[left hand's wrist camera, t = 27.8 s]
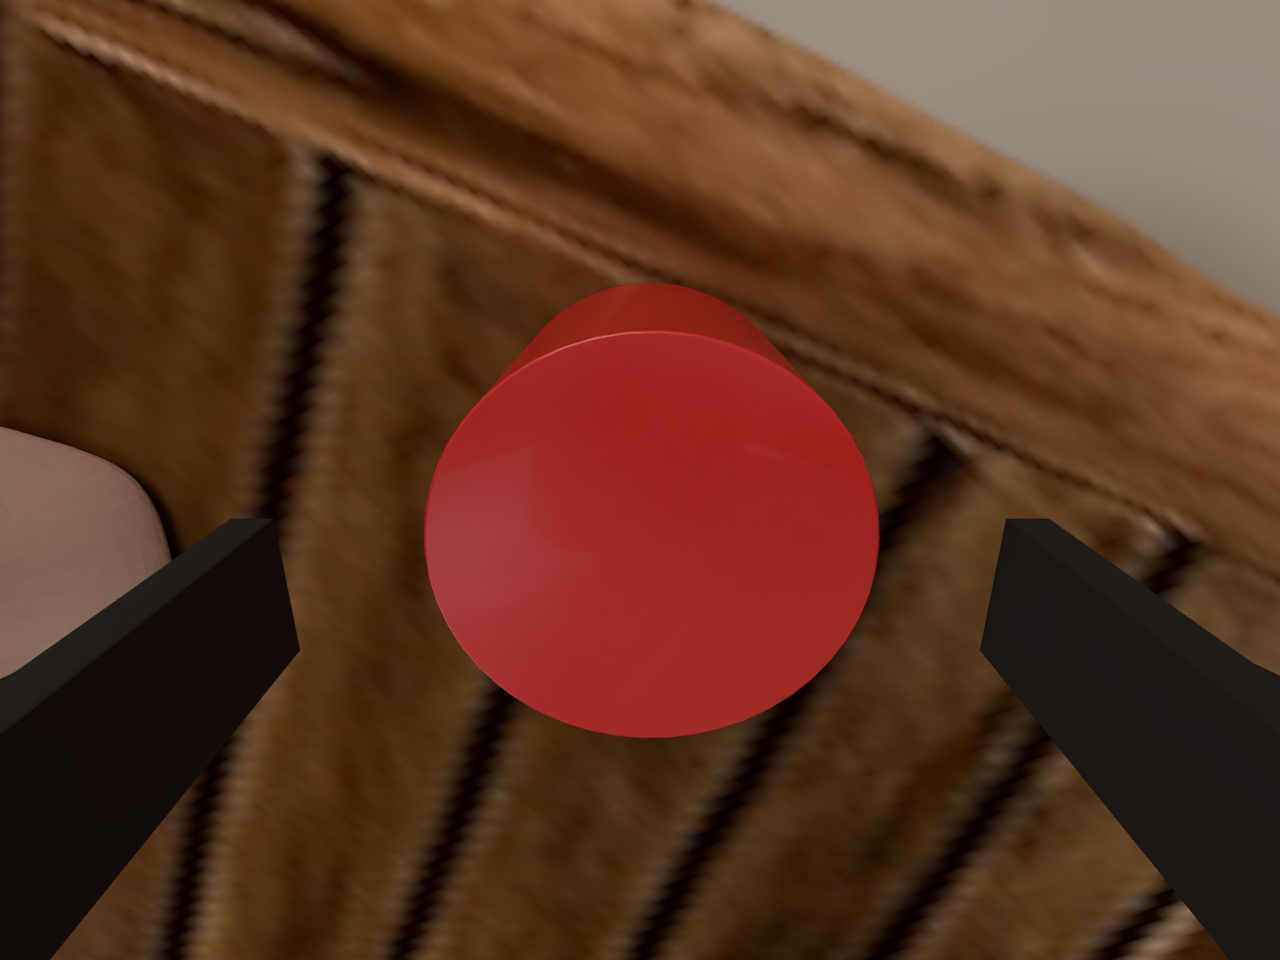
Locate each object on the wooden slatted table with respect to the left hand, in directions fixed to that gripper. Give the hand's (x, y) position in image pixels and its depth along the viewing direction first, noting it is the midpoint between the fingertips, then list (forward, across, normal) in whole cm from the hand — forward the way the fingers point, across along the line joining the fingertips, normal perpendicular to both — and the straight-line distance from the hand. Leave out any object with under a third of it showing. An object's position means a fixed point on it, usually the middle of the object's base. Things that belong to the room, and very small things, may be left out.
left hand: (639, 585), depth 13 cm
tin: (+7, 0, -1) cm, 8 cm away
